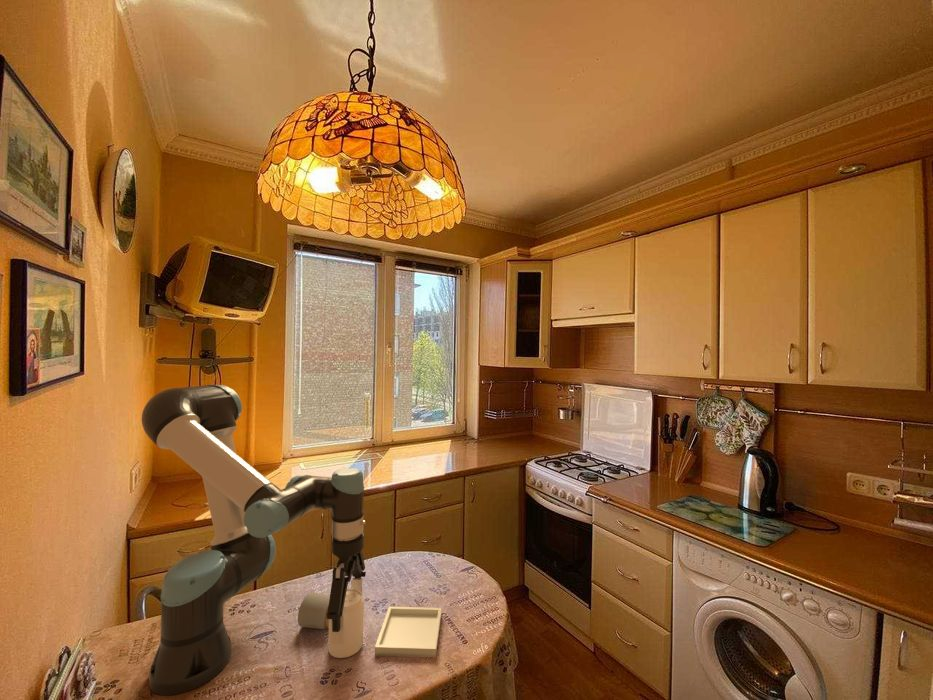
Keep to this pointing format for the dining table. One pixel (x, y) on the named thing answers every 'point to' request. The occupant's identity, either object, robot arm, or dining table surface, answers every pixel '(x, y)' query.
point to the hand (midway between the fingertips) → (348, 622)
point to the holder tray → (409, 632)
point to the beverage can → (350, 626)
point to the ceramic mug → (314, 611)
